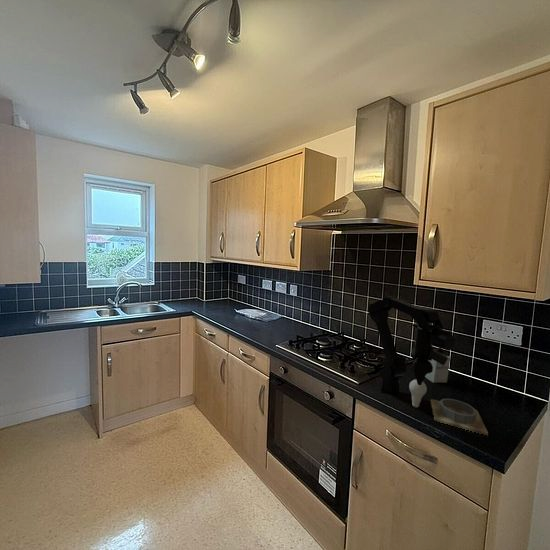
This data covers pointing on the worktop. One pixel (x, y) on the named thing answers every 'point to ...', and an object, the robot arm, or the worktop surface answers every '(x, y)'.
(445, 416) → the socket board
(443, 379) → the supplement box
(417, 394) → the lightbulb
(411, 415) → the worktop surface
